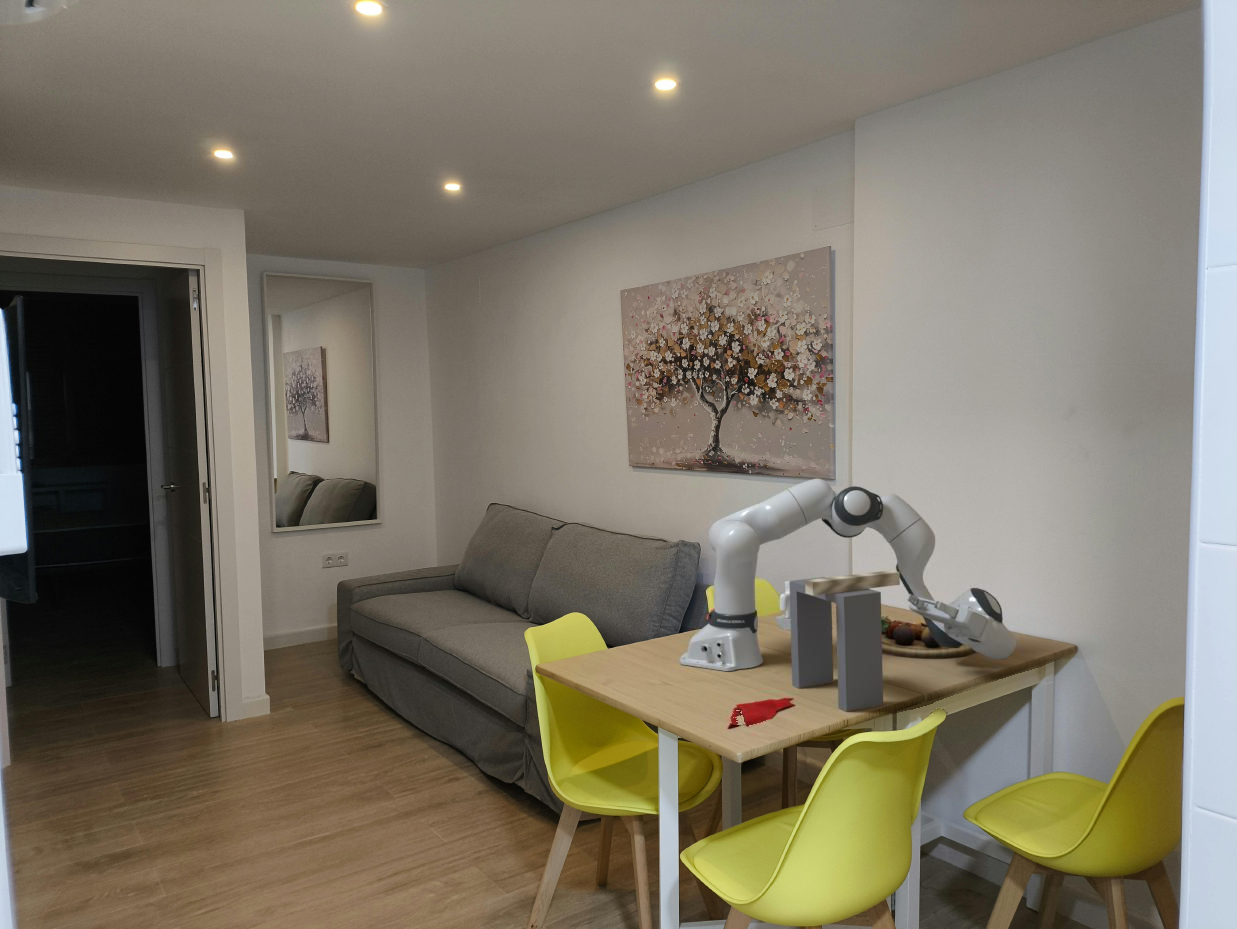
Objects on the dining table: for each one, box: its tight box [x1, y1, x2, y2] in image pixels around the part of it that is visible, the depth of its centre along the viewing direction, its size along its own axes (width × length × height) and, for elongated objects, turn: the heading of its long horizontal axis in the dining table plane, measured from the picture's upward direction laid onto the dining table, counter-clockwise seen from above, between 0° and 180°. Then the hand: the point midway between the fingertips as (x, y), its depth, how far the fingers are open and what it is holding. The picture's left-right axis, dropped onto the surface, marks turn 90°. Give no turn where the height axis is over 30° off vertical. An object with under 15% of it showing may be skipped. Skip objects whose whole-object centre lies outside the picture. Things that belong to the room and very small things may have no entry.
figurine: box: [774, 580, 791, 631], centre depth 269 cm, size 7×9×15 cm
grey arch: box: [789, 576, 884, 713], centre depth 203 cm, size 10×22×26 cm, turn 21°
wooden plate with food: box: [881, 615, 976, 659], centre depth 246 cm, size 32×32×8 cm
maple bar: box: [805, 569, 901, 596], centre depth 198 cm, size 24×3×3 cm, turn 111°
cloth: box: [727, 697, 795, 729], centre depth 194 cm, size 26×14×2 cm, turn 124°
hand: (923, 600), depth 206 cm, fingers open, 8 cm apart
